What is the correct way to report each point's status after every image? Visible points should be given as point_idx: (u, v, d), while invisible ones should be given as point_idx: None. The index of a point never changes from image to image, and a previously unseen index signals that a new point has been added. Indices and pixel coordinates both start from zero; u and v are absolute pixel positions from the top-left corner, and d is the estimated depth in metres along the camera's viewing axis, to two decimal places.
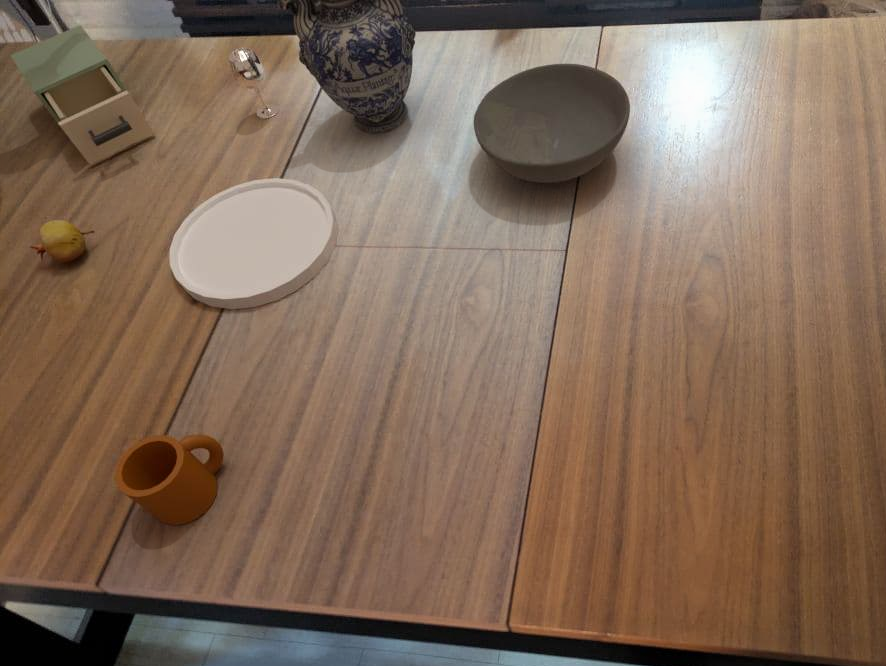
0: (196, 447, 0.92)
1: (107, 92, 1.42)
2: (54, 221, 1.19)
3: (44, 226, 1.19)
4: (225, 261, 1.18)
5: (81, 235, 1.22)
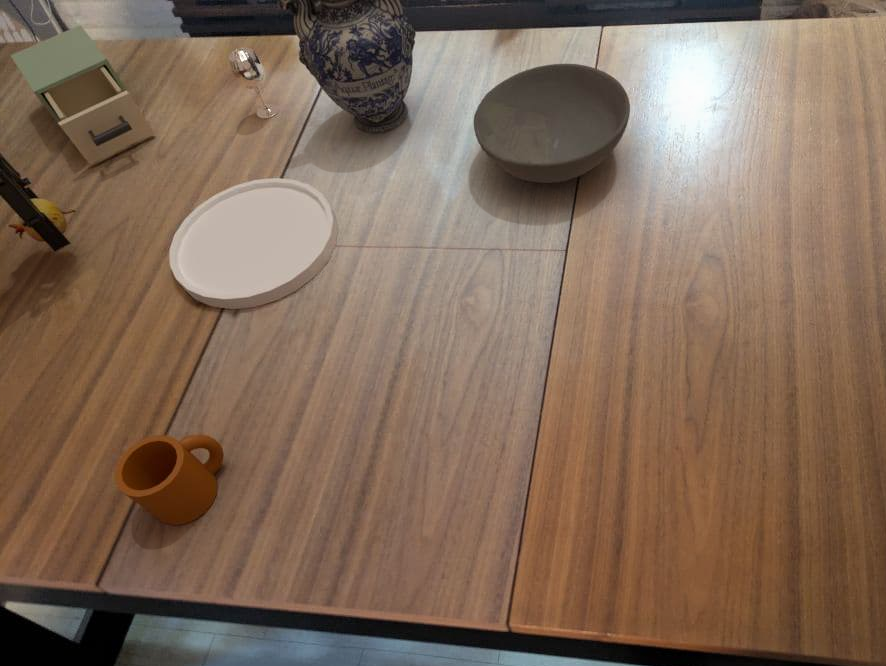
0: (196, 447, 0.92)
1: (107, 92, 1.42)
2: (33, 199, 1.15)
3: None
4: (225, 261, 1.18)
5: (62, 214, 1.18)
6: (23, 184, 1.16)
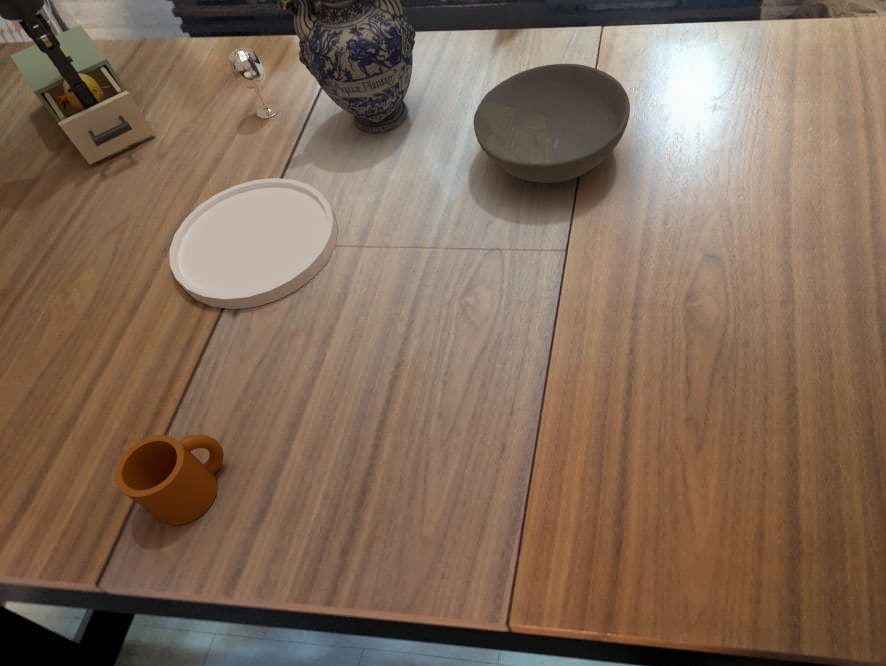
0: (196, 447, 0.92)
1: (107, 92, 1.42)
2: None
3: None
4: (225, 261, 1.18)
5: (100, 88, 1.34)
6: None
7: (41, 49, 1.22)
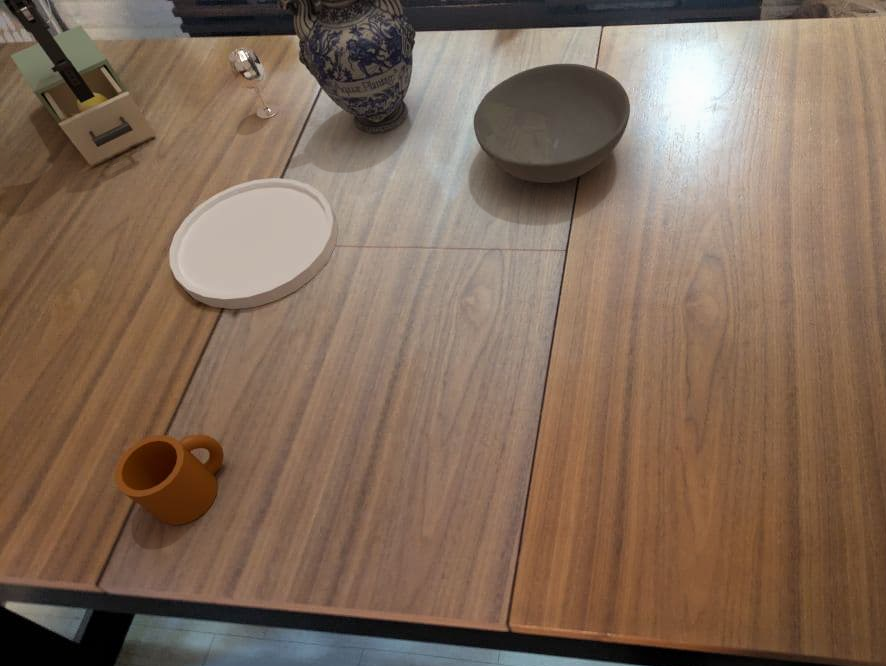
0: (196, 447, 0.92)
1: (107, 92, 1.42)
2: None
3: None
4: (225, 261, 1.18)
5: None
6: None
7: (25, 26, 1.18)
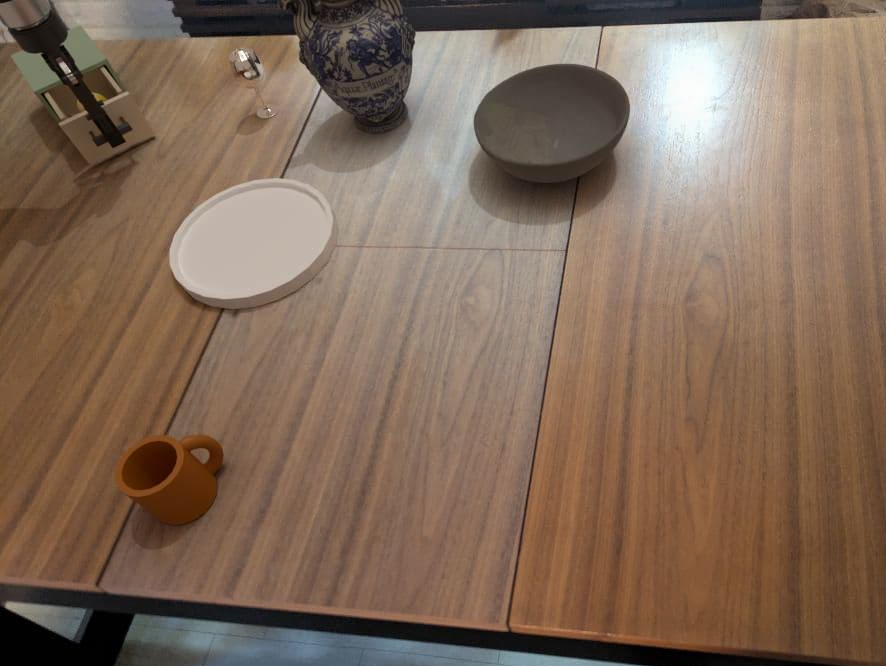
0: (196, 447, 0.92)
1: (107, 92, 1.42)
2: None
3: None
4: (225, 261, 1.18)
5: None
6: None
7: (64, 82, 1.18)
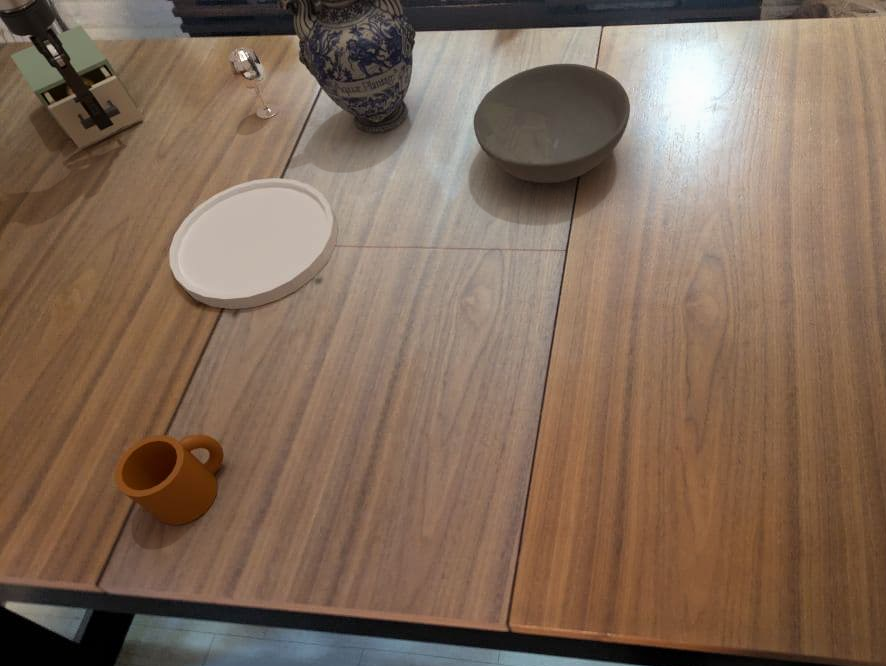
0: (196, 447, 0.92)
1: (96, 77, 1.46)
2: None
3: None
4: (225, 261, 1.18)
5: None
6: None
7: (51, 64, 1.21)
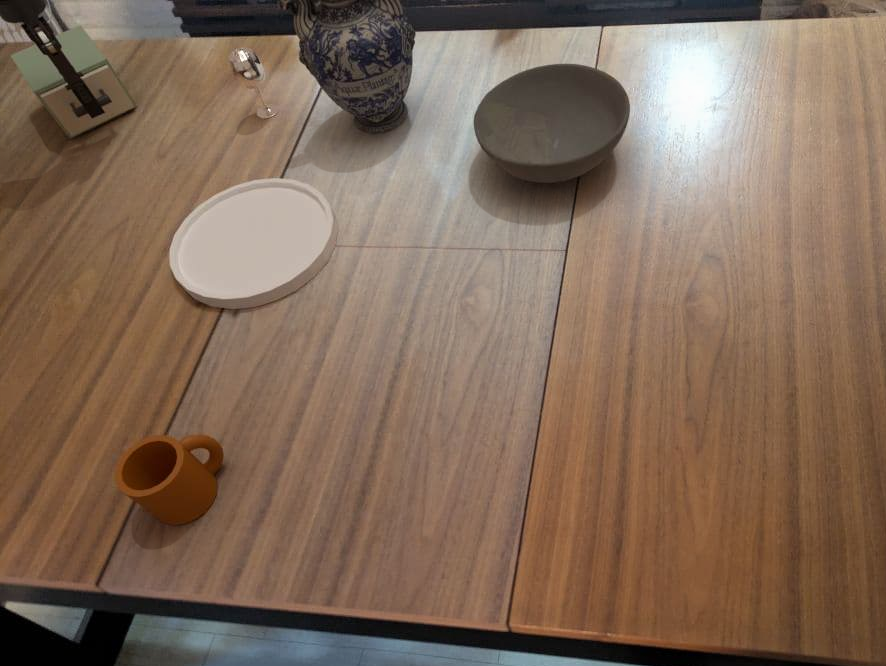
0: (196, 447, 0.92)
1: None
2: None
3: None
4: (225, 261, 1.18)
5: None
6: None
7: (43, 52, 1.23)
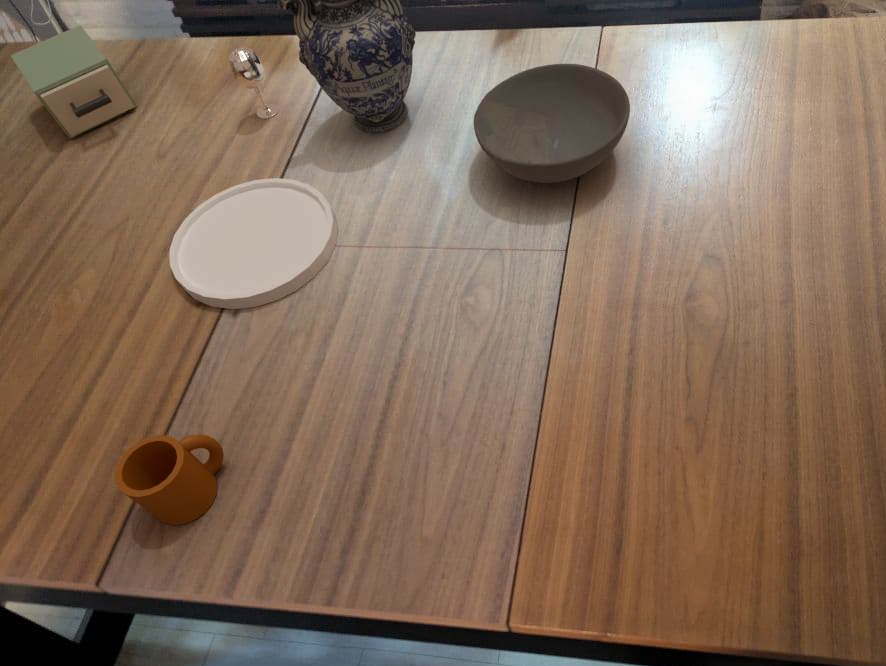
0: (196, 447, 0.92)
1: None
2: None
3: None
4: (225, 261, 1.18)
5: None
6: None
7: None
